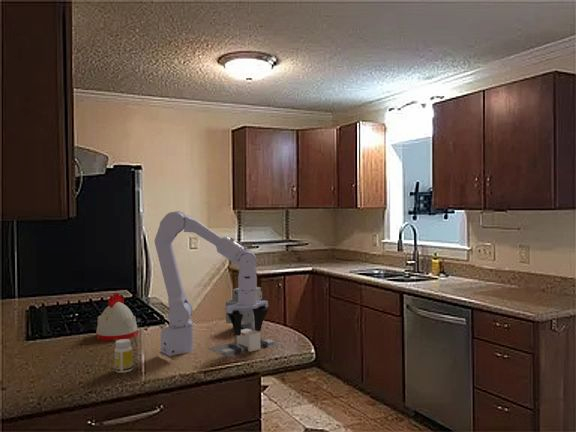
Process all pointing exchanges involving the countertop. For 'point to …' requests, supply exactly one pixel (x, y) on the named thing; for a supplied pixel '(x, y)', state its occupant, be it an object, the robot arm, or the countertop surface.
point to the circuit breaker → (247, 314)
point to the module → (249, 339)
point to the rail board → (239, 347)
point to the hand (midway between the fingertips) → (247, 332)
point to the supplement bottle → (123, 356)
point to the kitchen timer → (116, 321)
